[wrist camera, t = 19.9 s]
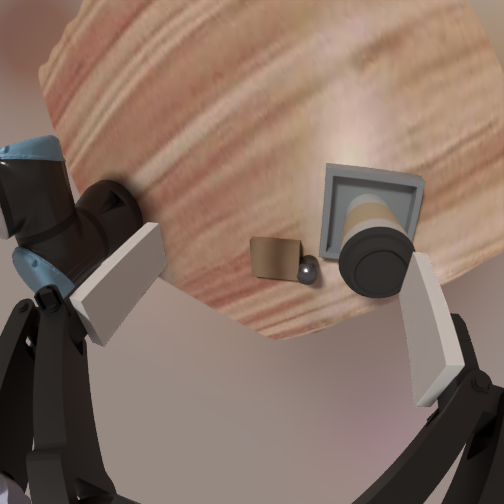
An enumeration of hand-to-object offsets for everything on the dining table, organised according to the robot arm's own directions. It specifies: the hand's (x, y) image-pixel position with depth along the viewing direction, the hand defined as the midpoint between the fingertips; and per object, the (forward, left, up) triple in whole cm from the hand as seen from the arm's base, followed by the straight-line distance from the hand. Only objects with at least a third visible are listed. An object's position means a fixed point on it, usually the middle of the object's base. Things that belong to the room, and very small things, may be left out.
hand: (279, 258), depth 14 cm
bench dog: (0, -20, -29) cm, 35 cm away
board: (-5, -19, -29) cm, 35 cm away
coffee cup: (+9, -10, -28) cm, 31 cm away
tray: (+9, -10, -29) cm, 31 cm away
